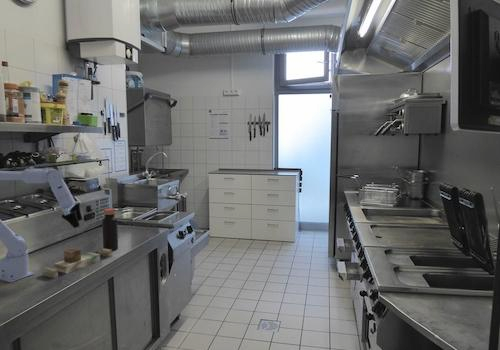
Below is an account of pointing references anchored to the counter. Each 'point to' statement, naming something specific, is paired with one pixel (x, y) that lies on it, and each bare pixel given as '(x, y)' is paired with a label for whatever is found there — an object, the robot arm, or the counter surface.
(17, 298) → the counter surface
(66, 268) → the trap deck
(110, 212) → the bottle
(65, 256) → the walnut block
